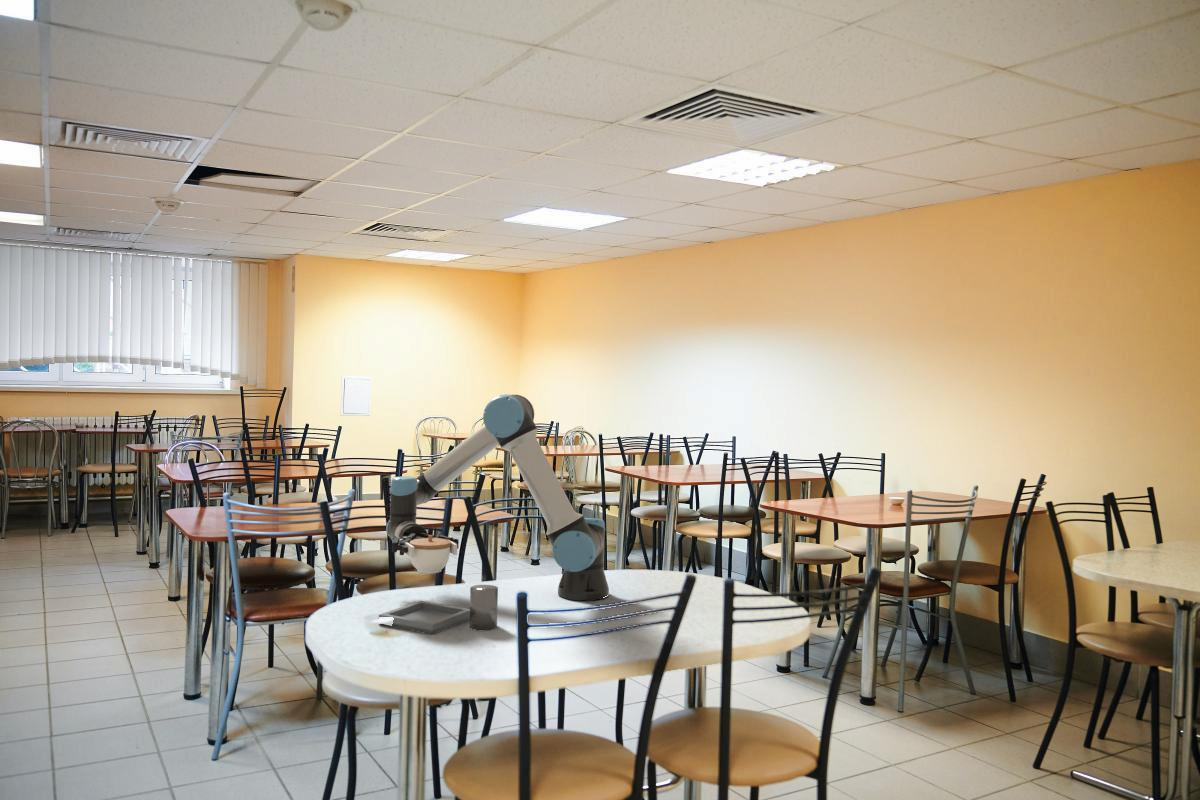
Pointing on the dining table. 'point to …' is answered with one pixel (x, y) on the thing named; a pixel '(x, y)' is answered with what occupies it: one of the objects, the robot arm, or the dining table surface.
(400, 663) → the dining table surface
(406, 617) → the tray
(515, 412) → the robot arm
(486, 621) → the metal tin
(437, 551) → the lidded jar
